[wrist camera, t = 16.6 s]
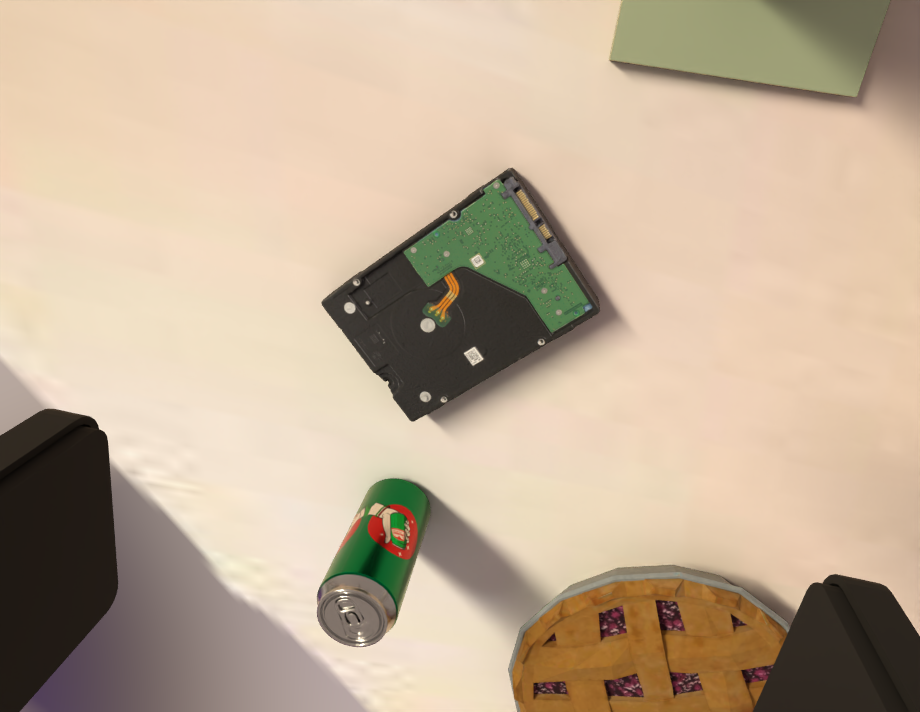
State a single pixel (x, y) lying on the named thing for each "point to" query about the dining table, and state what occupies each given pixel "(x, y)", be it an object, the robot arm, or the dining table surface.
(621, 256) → the dining table surface
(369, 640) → the soda can
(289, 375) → the dining table surface
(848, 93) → the dock
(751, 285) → the dining table surface
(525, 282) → the disk drive
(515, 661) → the pie
